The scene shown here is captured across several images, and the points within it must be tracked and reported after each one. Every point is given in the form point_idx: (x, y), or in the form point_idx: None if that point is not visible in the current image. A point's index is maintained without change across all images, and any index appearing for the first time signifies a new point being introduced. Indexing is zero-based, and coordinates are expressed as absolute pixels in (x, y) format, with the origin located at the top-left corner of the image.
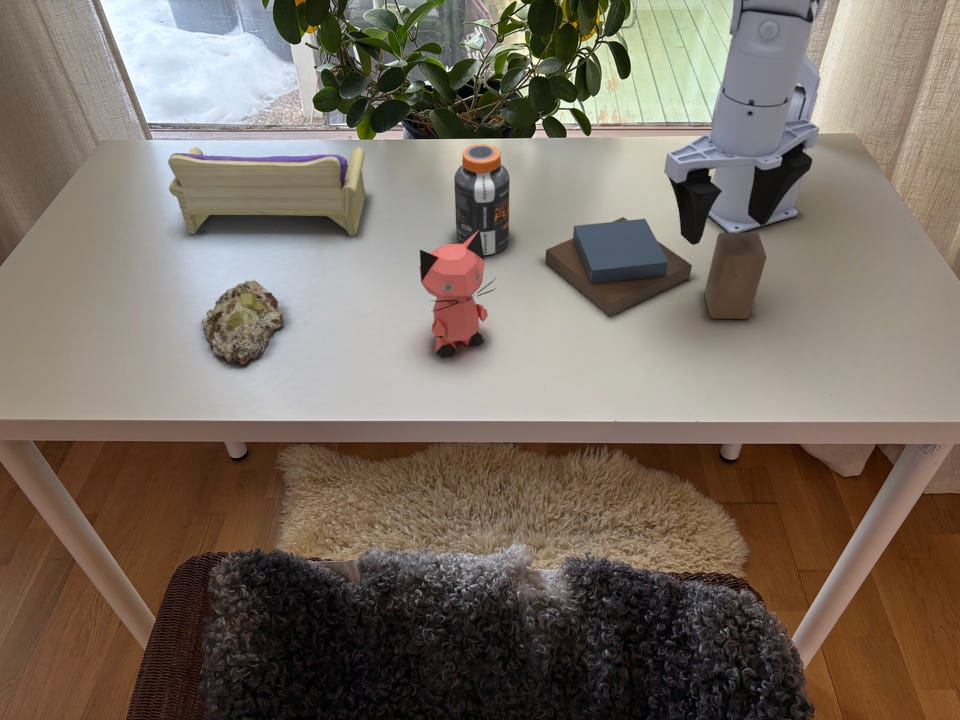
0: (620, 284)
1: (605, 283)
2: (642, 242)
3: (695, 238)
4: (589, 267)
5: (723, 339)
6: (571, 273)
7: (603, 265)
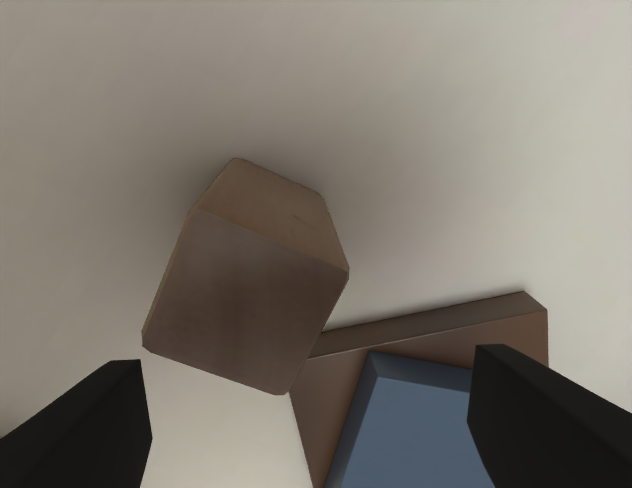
0: None
1: None
2: (389, 462)
3: (530, 357)
4: None
5: (336, 118)
6: None
7: None
